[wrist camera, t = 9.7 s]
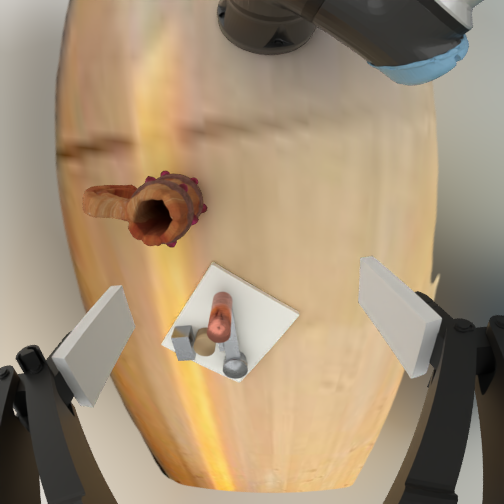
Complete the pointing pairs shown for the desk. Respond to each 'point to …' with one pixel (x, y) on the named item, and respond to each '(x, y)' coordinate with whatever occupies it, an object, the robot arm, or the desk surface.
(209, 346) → the tan short cylinder
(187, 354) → the grey rectangular block
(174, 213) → the mug
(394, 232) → the desk surface
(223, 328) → the lever
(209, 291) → the bench board
